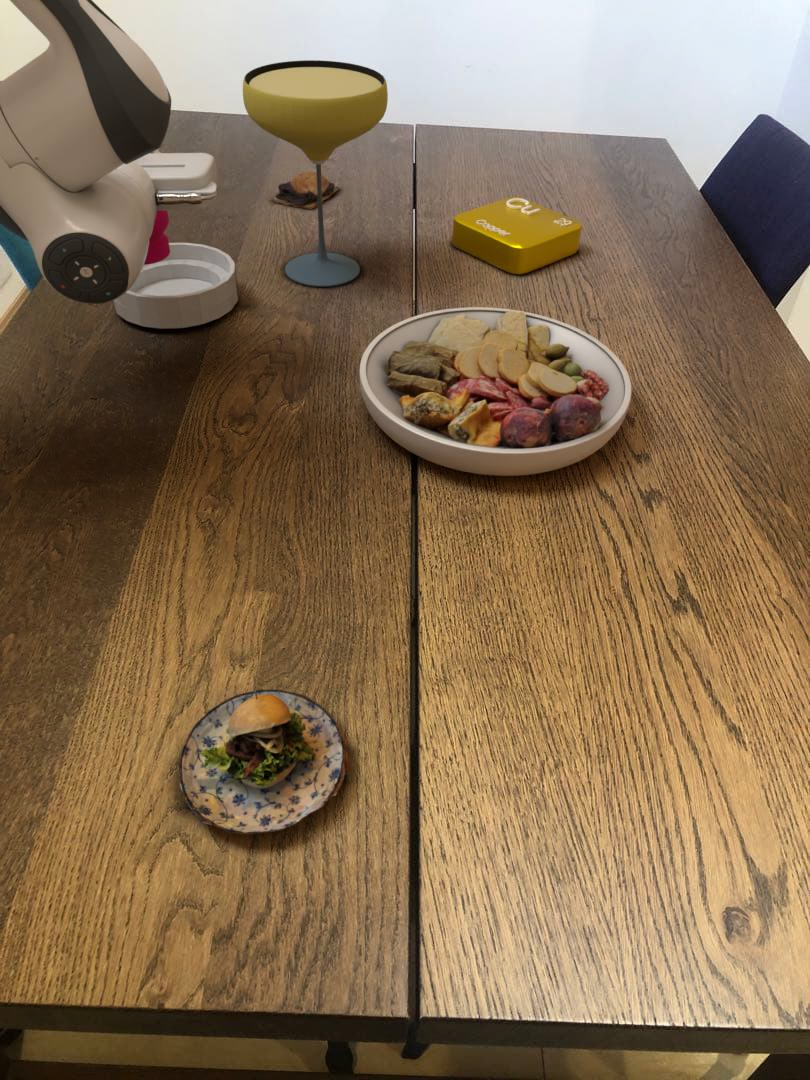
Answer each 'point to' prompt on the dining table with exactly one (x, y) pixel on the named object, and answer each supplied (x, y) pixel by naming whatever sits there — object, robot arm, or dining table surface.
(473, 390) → the bowl
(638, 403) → the dining table surface
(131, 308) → the white ledged dish
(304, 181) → the topped cracker
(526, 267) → the element tile
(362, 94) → the cocktail glass
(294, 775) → the burger
